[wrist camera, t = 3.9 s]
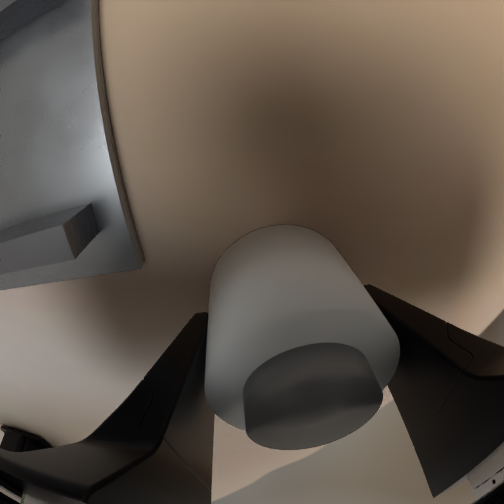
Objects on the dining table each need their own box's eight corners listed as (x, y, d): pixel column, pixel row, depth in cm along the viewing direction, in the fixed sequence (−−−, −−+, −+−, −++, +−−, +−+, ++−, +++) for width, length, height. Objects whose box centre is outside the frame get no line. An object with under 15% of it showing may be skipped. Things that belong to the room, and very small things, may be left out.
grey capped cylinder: (341, 327, 12) (391, 436, 7) (224, 347, 12) (228, 469, 7) (345, 215, 9) (442, 314, 5) (196, 237, 9) (171, 368, 4)
